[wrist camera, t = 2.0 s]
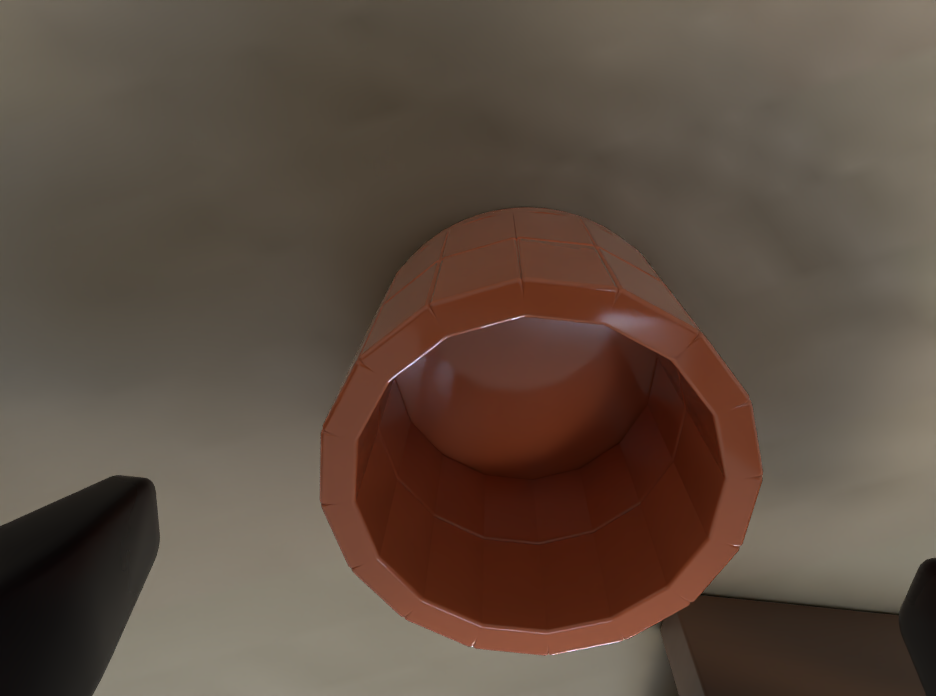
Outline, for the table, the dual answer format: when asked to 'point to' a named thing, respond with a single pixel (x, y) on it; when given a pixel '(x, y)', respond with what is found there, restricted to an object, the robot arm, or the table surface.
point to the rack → (786, 651)
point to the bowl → (537, 441)
